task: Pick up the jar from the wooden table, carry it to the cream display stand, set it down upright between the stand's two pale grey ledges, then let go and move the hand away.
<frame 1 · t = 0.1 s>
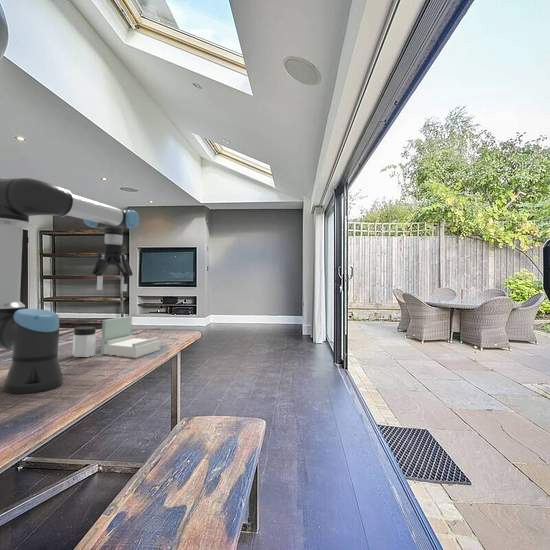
hand: (111, 290, 159), 28 cm above the table, tool pointing down, fingers open, 13 cm apart
jar: (83, 356, 149), on the table
display stand: (133, 352, 159), on the table
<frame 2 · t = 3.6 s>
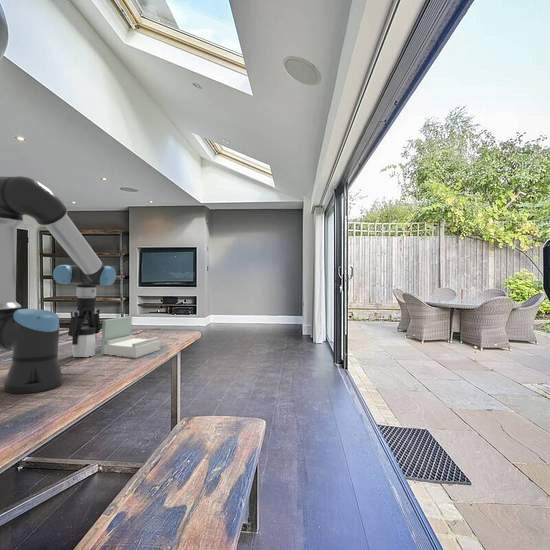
hand: (84, 350, 149), 2 cm above the table, tool pointing down, fingers closed on jar, 8 cm apart
jar: (83, 356, 148), on the table, touching gripper
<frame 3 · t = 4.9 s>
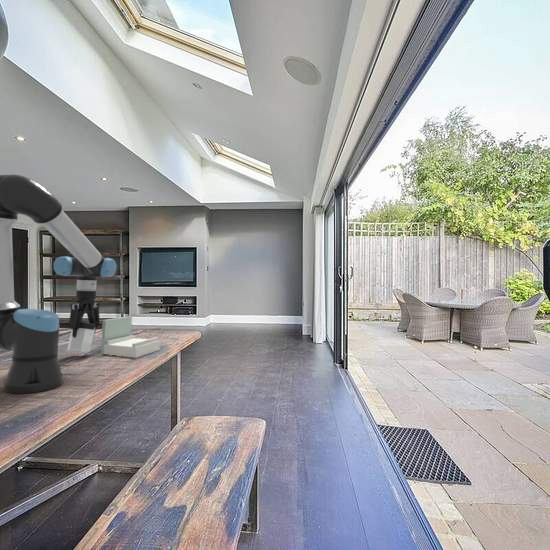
hand: (83, 343, 148), 5 cm above the table, tool pointing down, fingers closed on jar, 7 cm apart
jar: (78, 351, 146), point 2 cm above the table, touching gripper
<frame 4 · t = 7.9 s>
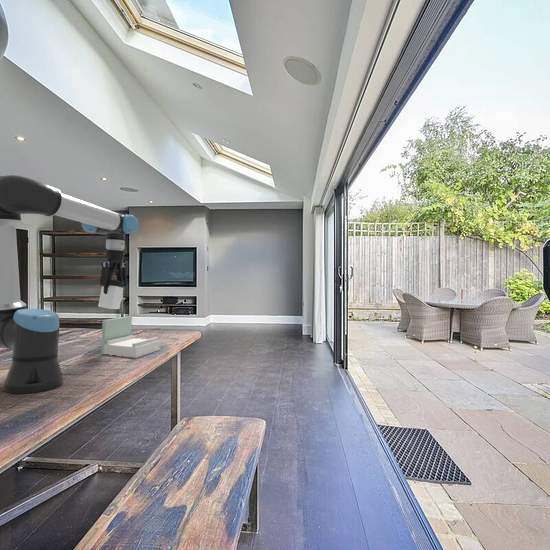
hand: (113, 300, 155), 23 cm above the table, tool pointing down, fingers closed on jar, 8 cm apart
jar: (108, 308, 152), point 20 cm above the table, touching gripper
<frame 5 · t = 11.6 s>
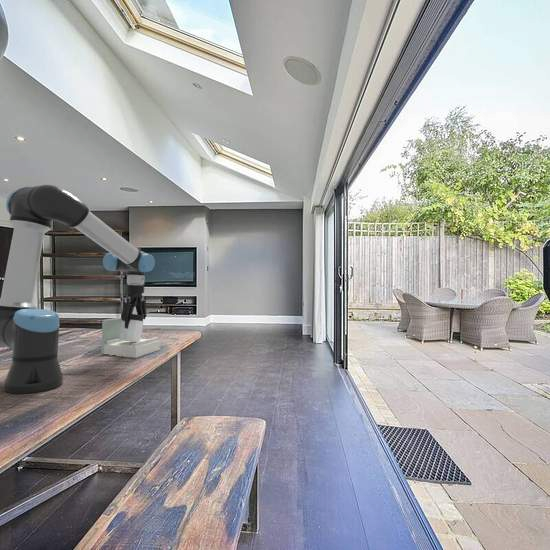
hand: (133, 334, 159), 8 cm above the table, tool pointing down, fingers closed on jar, 7 cm apart
jar: (129, 341, 156), point 5 cm above the table, touching gripper
when the fingers open (8 cm above the table, at t = 11.6 s): jar moves 1 cm, resting on display stand.
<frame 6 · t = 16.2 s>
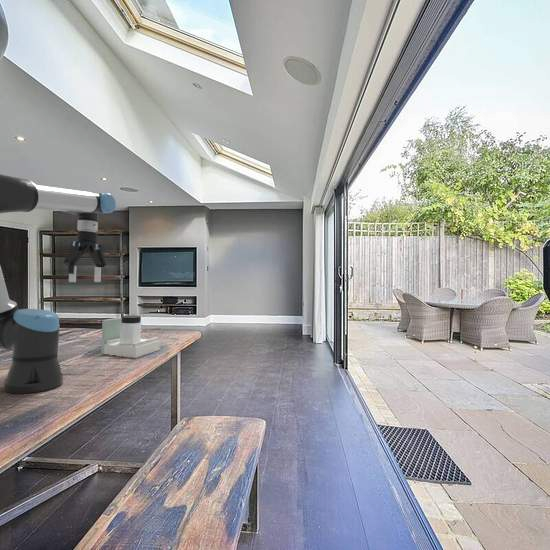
hand: (85, 282, 146), 32 cm above the table, tool pointing down, fingers open, 13 cm apart
jar: (130, 343, 157), point 4 cm above the table, touching display stand
at the end: jar 2.0 cm off-centre on the display stand, point 4.3 cm above the display stand's base; jar tilted 0°; the gripper is holding nothing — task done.
